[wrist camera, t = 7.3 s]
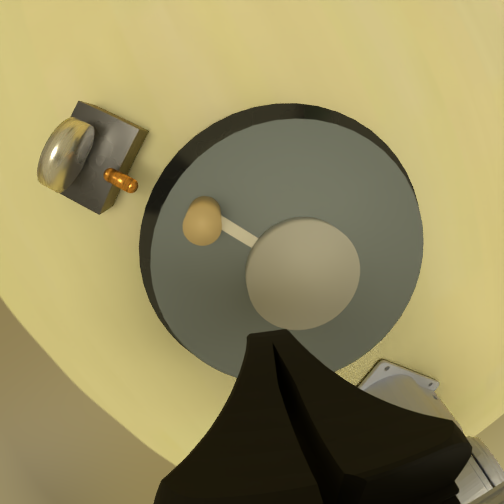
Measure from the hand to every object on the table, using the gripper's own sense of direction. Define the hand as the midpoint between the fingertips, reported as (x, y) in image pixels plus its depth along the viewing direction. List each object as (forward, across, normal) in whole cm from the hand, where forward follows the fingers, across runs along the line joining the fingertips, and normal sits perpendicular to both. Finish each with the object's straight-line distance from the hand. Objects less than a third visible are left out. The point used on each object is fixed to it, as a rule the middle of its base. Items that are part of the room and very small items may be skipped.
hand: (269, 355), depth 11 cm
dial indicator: (+10, +8, -7) cm, 15 cm away
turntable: (+9, -3, 0) cm, 9 cm away
